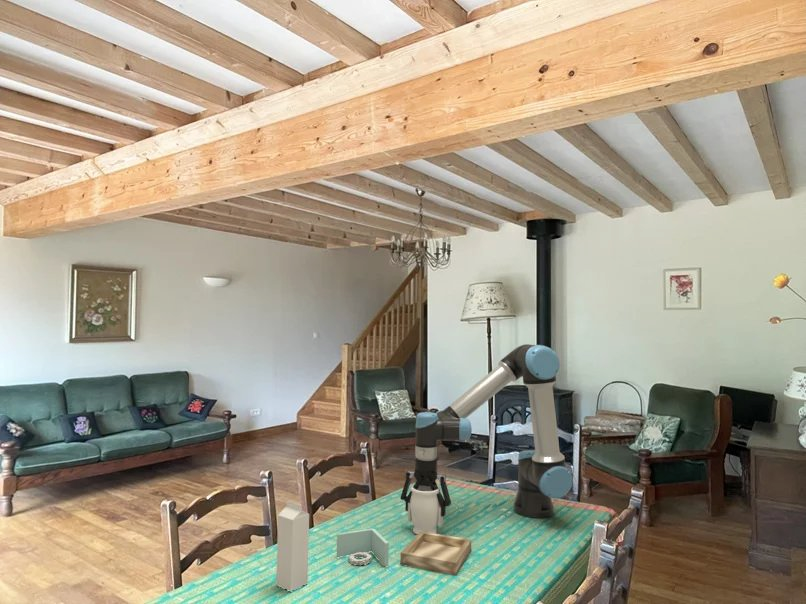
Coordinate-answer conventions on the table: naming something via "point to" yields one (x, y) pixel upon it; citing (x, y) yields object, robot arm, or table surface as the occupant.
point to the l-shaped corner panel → (362, 546)
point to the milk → (292, 547)
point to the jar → (424, 509)
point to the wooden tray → (436, 552)
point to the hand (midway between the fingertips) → (425, 523)
